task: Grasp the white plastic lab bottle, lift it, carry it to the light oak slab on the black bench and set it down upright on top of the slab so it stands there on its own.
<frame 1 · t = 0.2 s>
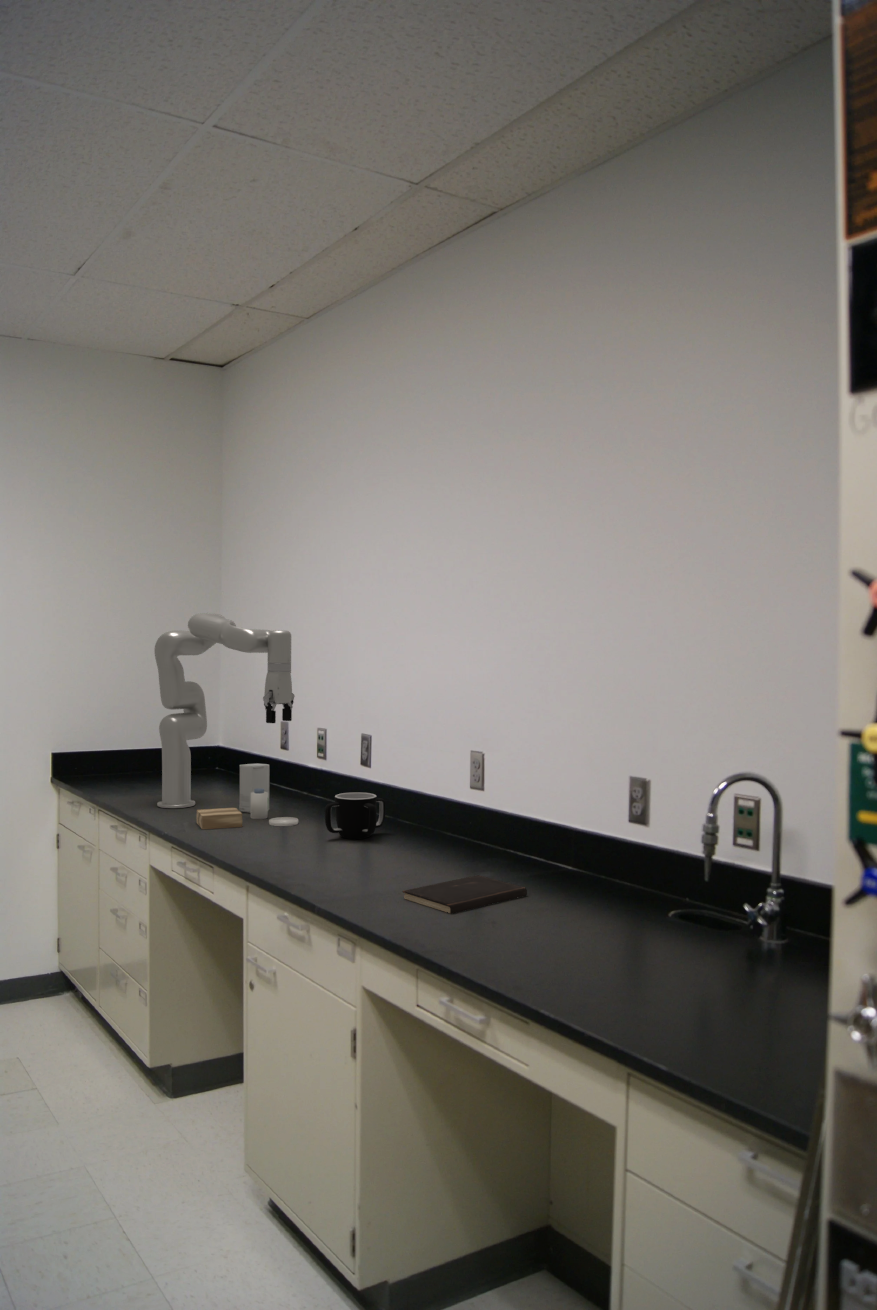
hand: (278, 721, 312), 31 cm above the counter, tool pointing down, fingers open, 9 cm apart
mug: (355, 837, 283), on the counter
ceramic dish: (283, 823, 302), on the counter
skincare box: (254, 811, 325), on the counter
oak slab: (219, 824, 299), on the counter
hardcover book: (465, 900, 216), on the counter
reagent bottle: (259, 817, 312), on the counter
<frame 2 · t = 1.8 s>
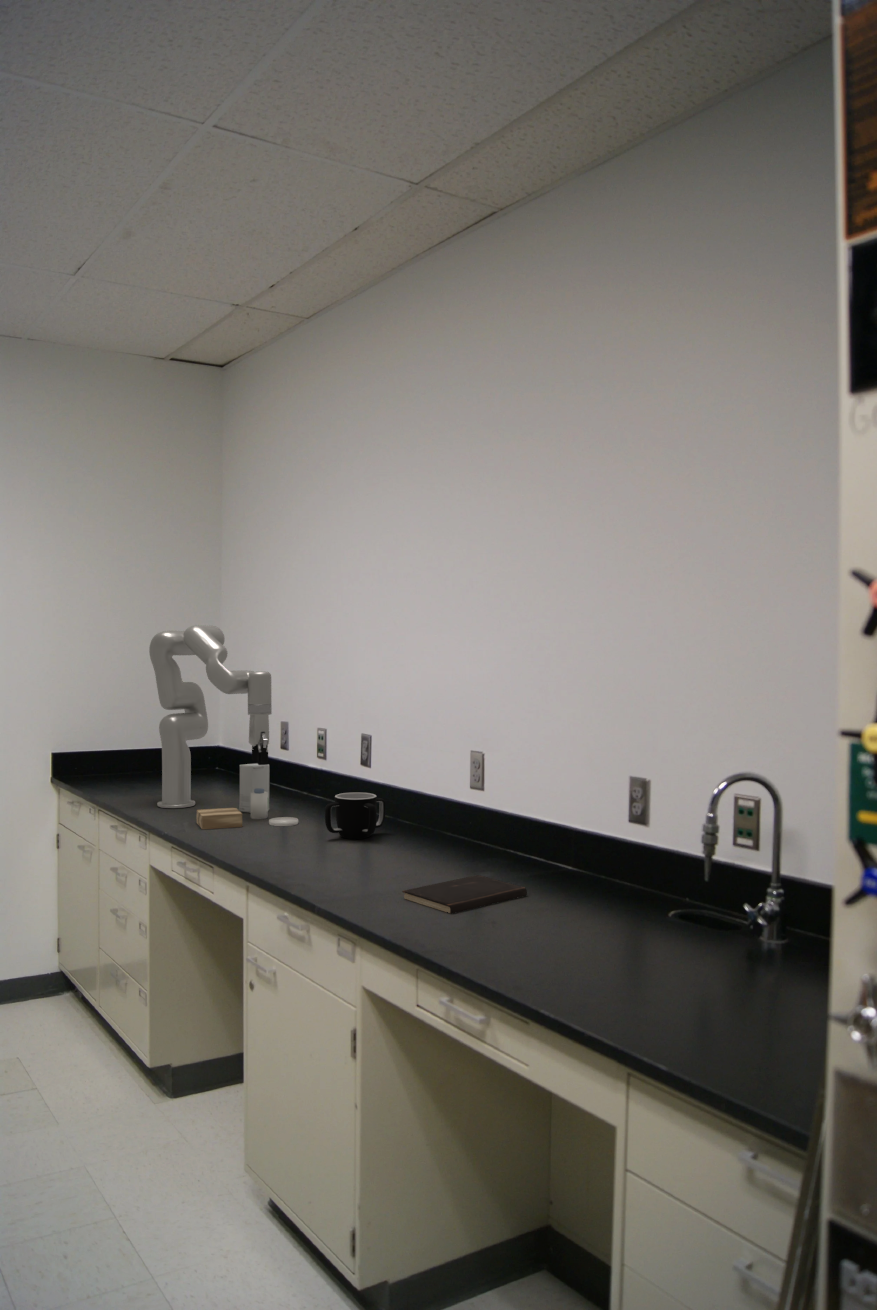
hand: (259, 763, 312), 18 cm above the counter, tool pointing down, fingers open, 9 cm apart
nothing on the counter moved.
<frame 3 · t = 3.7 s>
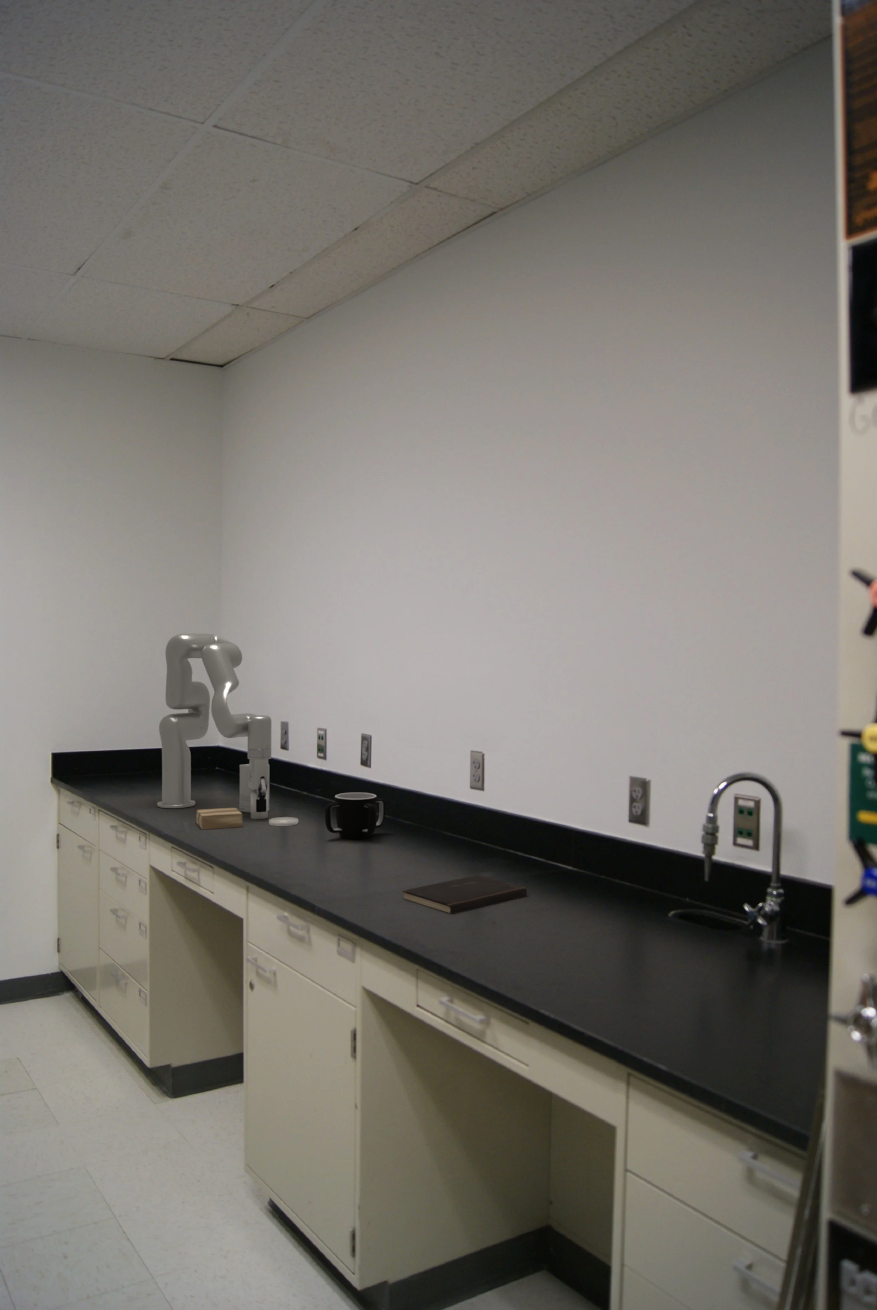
hand: (259, 809, 312), 3 cm above the counter, tool pointing down, fingers closed on reagent bottle, 5 cm apart
reagent bottle: (259, 817, 312), on the counter, touching gripper
everything else where it was.
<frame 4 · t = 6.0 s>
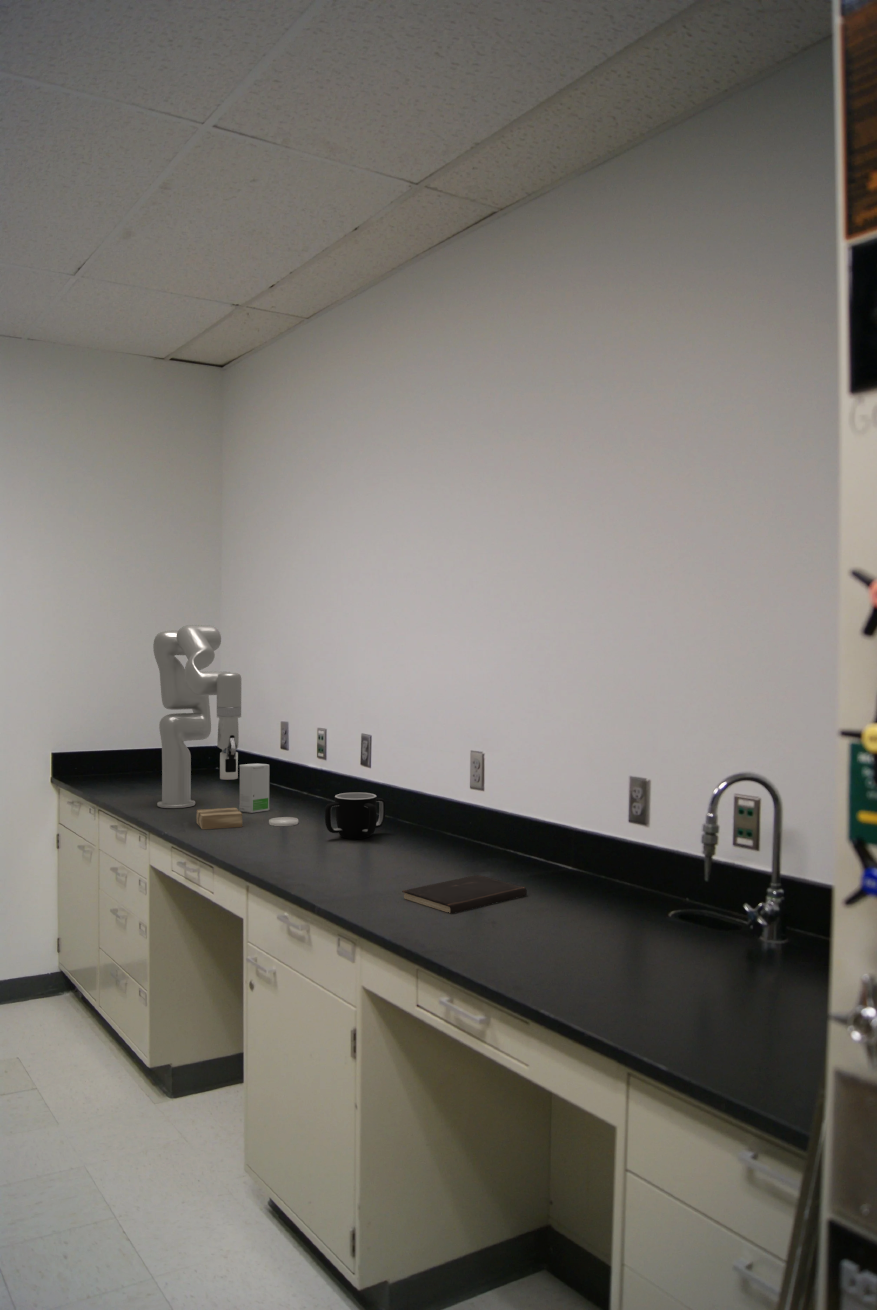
hand: (228, 770, 302), 16 cm above the counter, tool pointing down, fingers closed on reagent bottle, 5 cm apart
reagent bottle: (228, 778, 302), point 14 cm above the counter, touching gripper
everything else where it was.
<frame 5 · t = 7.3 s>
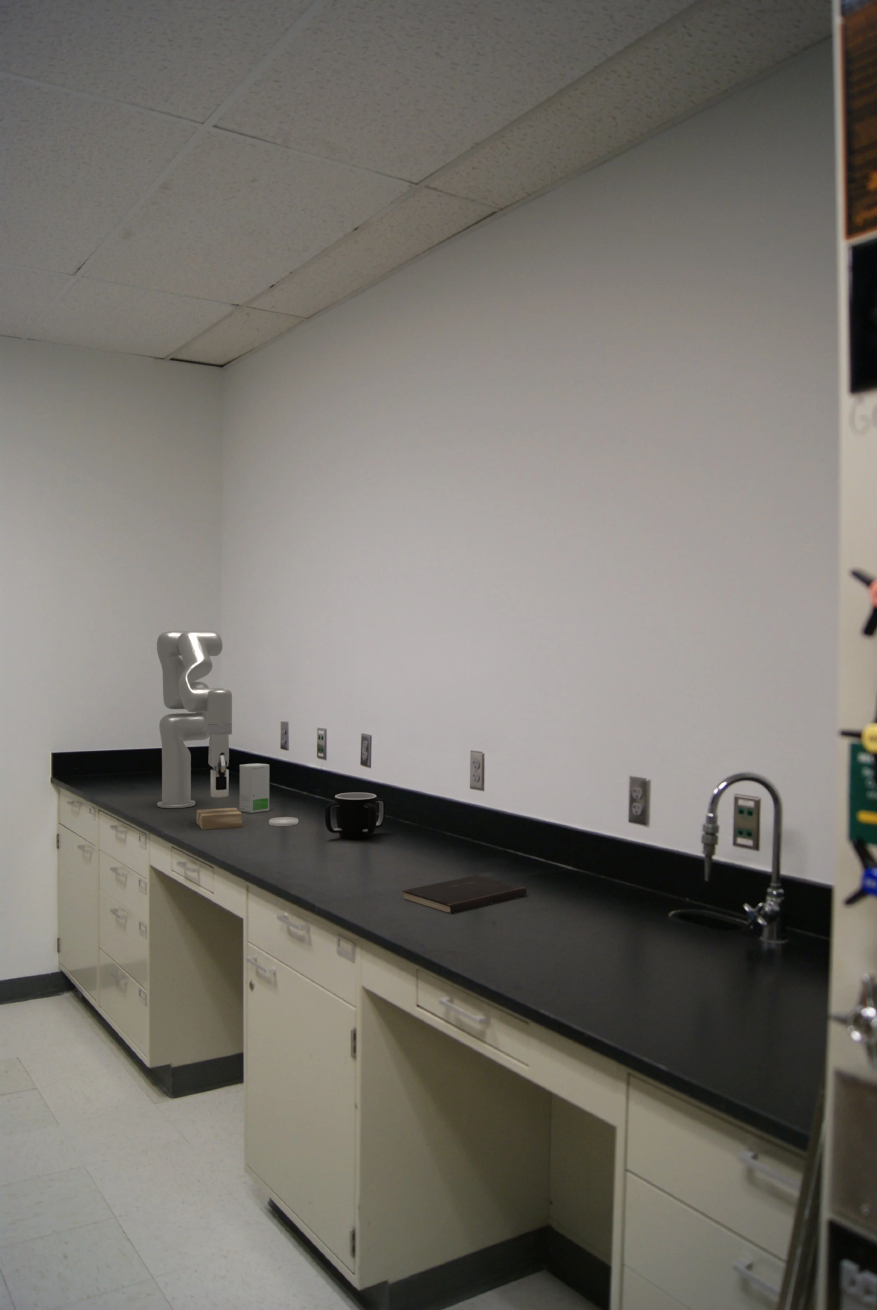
hand: (219, 787, 299), 11 cm above the counter, tool pointing down, fingers closed on reagent bottle, 5 cm apart
reagent bottle: (219, 796, 299), point 9 cm above the counter, touching gripper
everything else where it was.
when the fingers open (7 cm above the counter, at t = 8.4 s): reagent bottle stays where it is, resting on oak slab.
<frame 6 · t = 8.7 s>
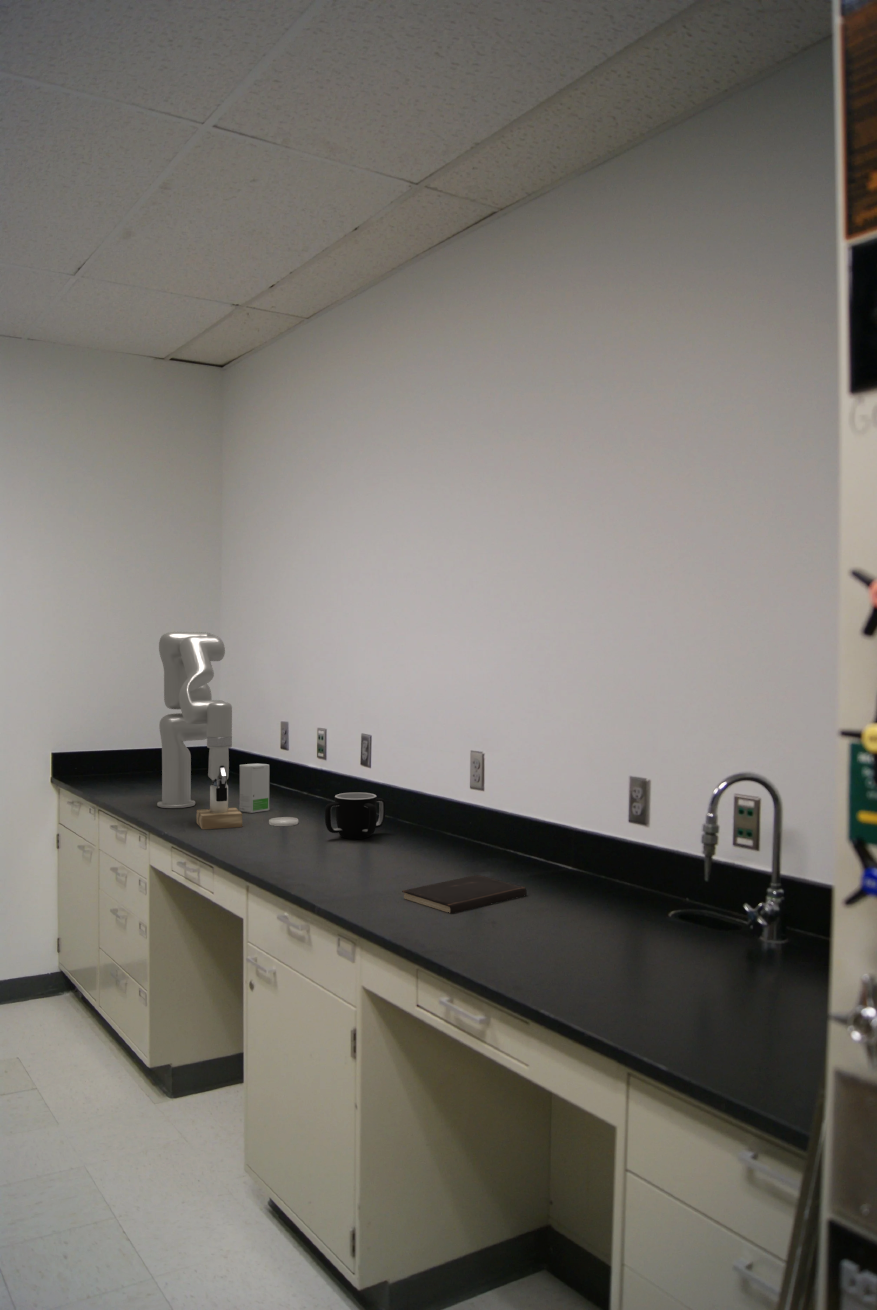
hand: (219, 798, 299), 8 cm above the counter, tool pointing down, fingers open, 8 cm apart
reagent bottle: (219, 811, 300), point 4 cm above the counter, touching oak slab
everything else where it was.
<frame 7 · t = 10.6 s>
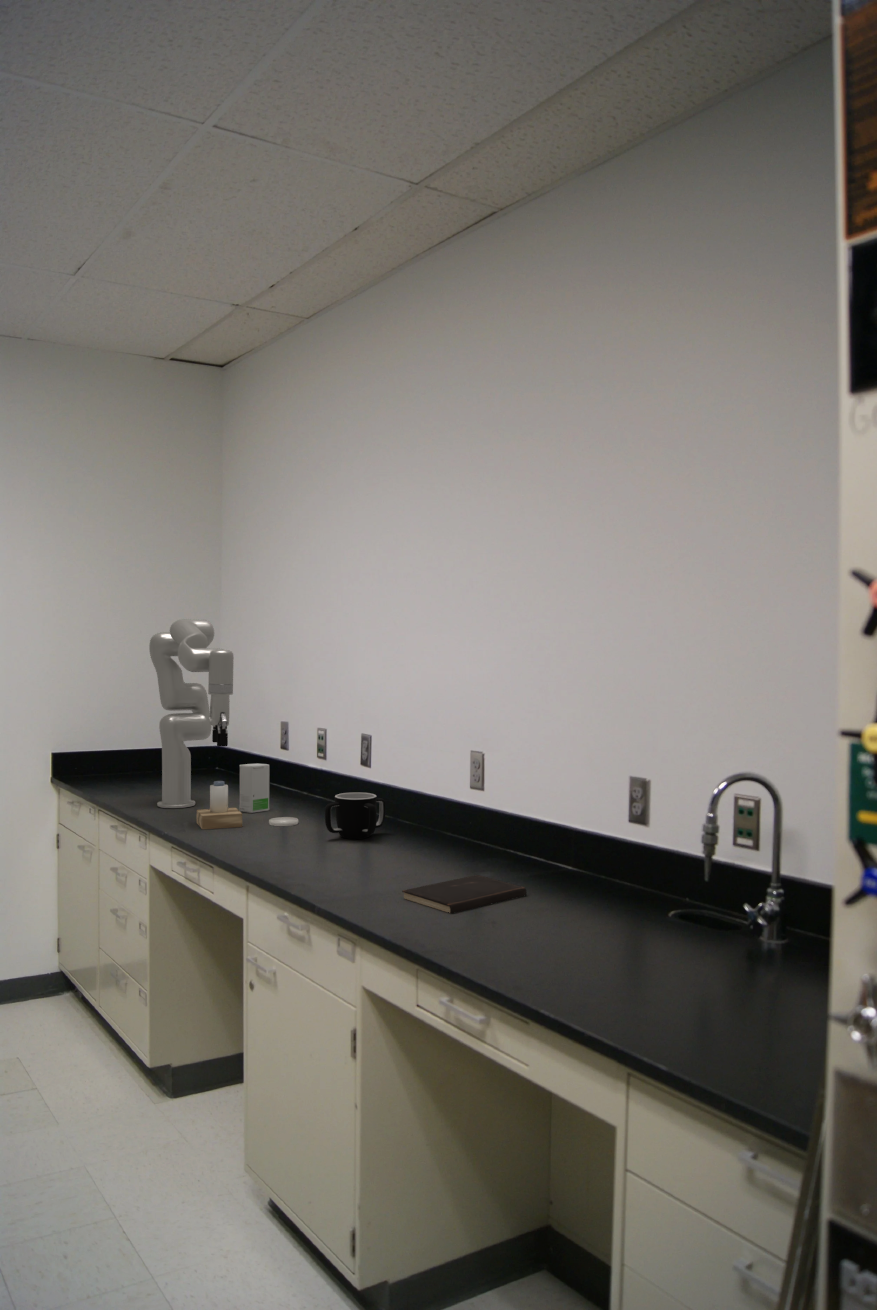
hand: (219, 744, 304), 24 cm above the counter, tool pointing down, fingers open, 9 cm apart
nothing on the counter moved.
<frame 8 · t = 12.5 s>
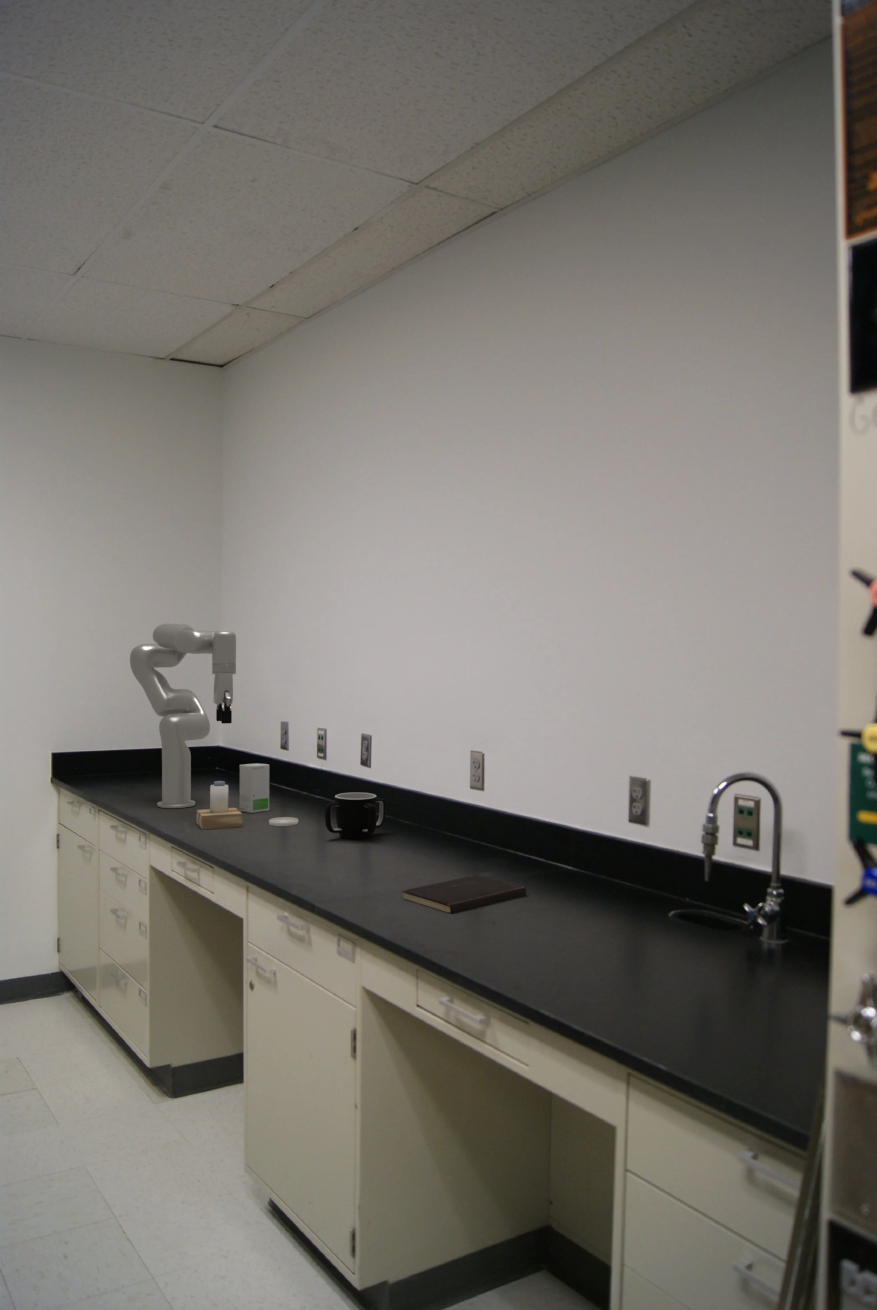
hand: (223, 722, 315), 30 cm above the counter, tool pointing down, fingers open, 9 cm apart
nothing on the counter moved.
at the end: reagent bottle inside the target area on the oak slab (0.2 cm from its centre), point 4.0 cm above the oak slab's base; reagent bottle tilted 1°; the gripper is holding nothing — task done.
